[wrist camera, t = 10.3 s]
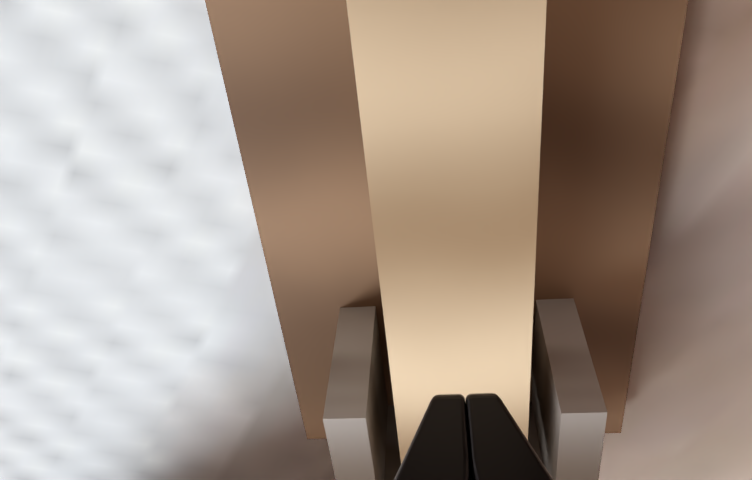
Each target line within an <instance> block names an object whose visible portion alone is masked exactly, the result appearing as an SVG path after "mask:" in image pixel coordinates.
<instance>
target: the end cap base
mask: <svg viewBox="0 0 752 480" xmlns="http://www.w3.org/2000/svg"><path fill="white" fill-rule="evenodd" d="M205 2H206V7H207V11H208V15H209V20H210V24H211V28H212V32H213V37H214V41H215V45H216V50H217V54H218V58H219V62H220V67H221V71H222V75H223V80H224V84H225V88H226V92H227V97H228V101H229V105H230V110H231V114H232V118H233V123H234V127H235V131H236V135H237V140H238V144H239V148H240V153H241V157H242V161H243V165H244V170H245V174H246V178H247V183H248V187H249V191H250V196H251V200H252V204H253V208H254V213H255V217H256V221H257V226H258V230H259V234H260V238H261V243H262V247H263V251H264V256H265V260H266V264H267V269H268V273H269V277H270V281H271V286H272V290H273V294H274V299H275V303H276V307H277V311H278V316H279V320H280V324H281V329H282V333H283V337H284V342H285V346H286V350H287V354H288V359H289V363H290V367H291V372H292V376H293V380H294V384H295V389H296V393H297V397H298V402H299V406H300V410H301V415H302V419H303V423H304V427H305V432H306V436H307V439H327V442H328V447H329V452H330V456H331V461H332V466H333V471H334V476H335V480H394V479H395V477H396V474H397V472H398V470H399V468H400V466H401V459H400V451H399V442H398V434H397V425H396V417H395V409H394V400H393V392H392V383H391V375H390V366H389V358H388V349H387V341H386V332H385V324H384V316H383V307H382V299H381V290H380V282H379V273H378V265H377V256H376V248H375V240H374V231H373V223H372V214H371V206H370V197H369V189H368V180H367V172H366V163H365V155H364V147H363V138H362V130H361V121H360V113H359V104H358V96H357V87H356V79H355V70H354V62H353V54H352V45H351V37H350V28H349V20H348V11H347V3H346V0H205ZM687 5H688V0H547V6H546V29H545V53H544V76H543V99H542V122H541V145H540V169H539V192H538V215H537V238H536V262H535V285H534V308H533V331H532V354H531V378H530V401H529V424H528V442H529V443H530V445H531V446H532V448H533V449H534V451H535V452H536V454H537V455H538V457H539V458H540V460H541V462H542V463H543V465H544V466H545V468H546V469H547V471H548V472H549V474H550V475H551V477H552V479H553V480H598V478H599V471H600V463H601V456H602V449H603V441H604V434H605V433H621V429H622V422H623V416H624V409H625V403H626V396H627V390H628V384H629V377H630V371H631V364H632V358H633V352H634V345H635V339H636V332H637V326H638V320H639V313H640V307H641V300H642V294H643V287H644V281H645V275H646V268H647V262H648V255H649V249H650V243H651V236H652V230H653V223H654V217H655V211H656V204H657V198H658V191H659V185H660V179H661V172H662V166H663V159H664V153H665V146H666V140H667V134H668V127H669V121H670V114H671V108H672V102H673V95H674V89H675V82H676V76H677V70H678V63H679V57H680V50H681V44H682V37H683V31H684V25H685V18H686V12H687Z"/></svg>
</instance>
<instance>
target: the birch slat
mask: <svg viewBox="0 0 752 480" xmlns="http://www.w3.org/2000/svg"><path fill="white" fill-rule="evenodd" d="M346 3H347V11H348V20H349V28H350V37H351V45H352V54H353V62H354V70H355V79H356V87H357V96H358V104H359V113H360V121H361V130H362V138H363V147H364V155H365V163H366V172H367V180H368V189H369V197H370V206H371V214H372V223H373V231H374V240H375V248H376V256H377V265H378V273H379V282H380V290H381V299H382V307H383V316H384V324H385V332H386V341H387V349H388V358H389V366H390V375H391V383H392V392H393V400H394V409H395V417H396V425H397V434H398V442H399V451H400V459H401V464H402V461H403V459H404V457H405V455H406V453H407V451H408V448H409V446H410V444H411V442H412V440H413V438H414V435H415V433H416V431H417V429H418V427H419V425H420V422H421V420H422V418H423V416H424V414H425V412H426V410H427V407H428V405H429V403H430V401H431V399H432V398H433V397H434V396H435V395H439V394H461V395H463V396H464V398H465V400H466V397H467V395H469V394H475V393H495V394H497V395H498V396H499V397H500V399H501V400H502V401H503V403H504V405H505V406H506V408H507V409H508V411H509V412H510V414H511V415H512V417H513V418H514V420H515V422H516V423H517V425H518V426H519V428H520V429H521V431H522V432H523V434H524V435H525V437H526V438H527V440H528V424H529V401H530V378H531V354H532V331H533V308H534V285H535V262H536V238H537V215H538V192H539V169H540V145H541V122H542V99H543V76H544V53H545V29H546V6H547V0H346Z"/></svg>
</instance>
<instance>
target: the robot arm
mask: <svg viewBox="0 0 752 480" xmlns="http://www.w3.org/2000/svg"><path fill="white" fill-rule="evenodd" d="M394 480H553V479H552V477H551V475H550V474H549V472H548V471H547V469H546V468H545V466H544V465H543V463H542V462H541V460H540V458H539V457H538V455H537V454H536V452H535V451H534V449H533V448H532V446H531V445H530V443H529V442H528V440H527V438H526V437H525V435H524V434H523V432H522V431H521V429H520V428H519V426H518V425H517V423H516V422H515V420H514V418H513V417H512V415H511V414H510V412H509V411H508V409H507V408H506V406H505V405H504V403H503V401H502V400H501V399H500V397H499V396H498V395H497V394H495V393H475V394H469V395H467V397H466V400H465V398H464V396H463V395H461V394H439V395H435V396H434V397H433V398H432V399H431V401H430V403H429V405H428V407H427V410H426V412H425V414H424V416H423V418H422V420H421V422H420V425H419V427H418V429H417V431H416V433H415V435H414V438H413V440H412V442H411V444H410V446H409V448H408V451H407V453H406V455H405V457H404V459H403V461H402V464H401V466H400V468H399V470H398V472H397V474H396V477H395V479H394Z"/></svg>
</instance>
